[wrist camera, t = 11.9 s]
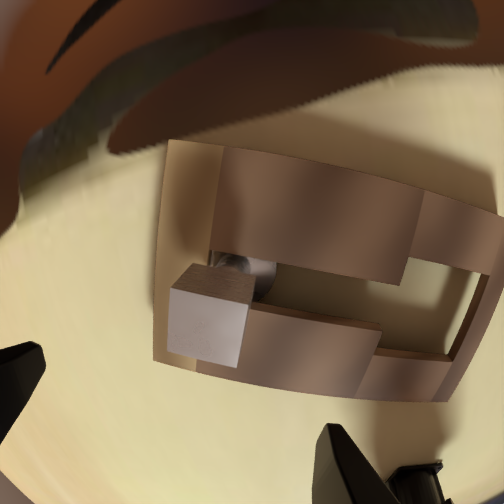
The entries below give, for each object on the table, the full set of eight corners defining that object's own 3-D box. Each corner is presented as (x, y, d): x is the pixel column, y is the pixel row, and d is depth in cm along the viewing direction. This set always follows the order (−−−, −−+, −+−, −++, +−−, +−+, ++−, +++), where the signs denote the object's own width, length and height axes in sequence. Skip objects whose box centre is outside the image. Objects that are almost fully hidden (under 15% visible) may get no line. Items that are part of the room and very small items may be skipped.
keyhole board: (498, 216, 17) (522, 225, 14) (435, 379, 21) (447, 401, 18) (186, 142, 18) (169, 139, 15) (167, 337, 22) (153, 360, 19)
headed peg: (284, 231, 19) (280, 285, 11) (268, 304, 20) (256, 389, 12) (204, 216, 19) (147, 257, 11) (195, 289, 21) (145, 362, 13)
